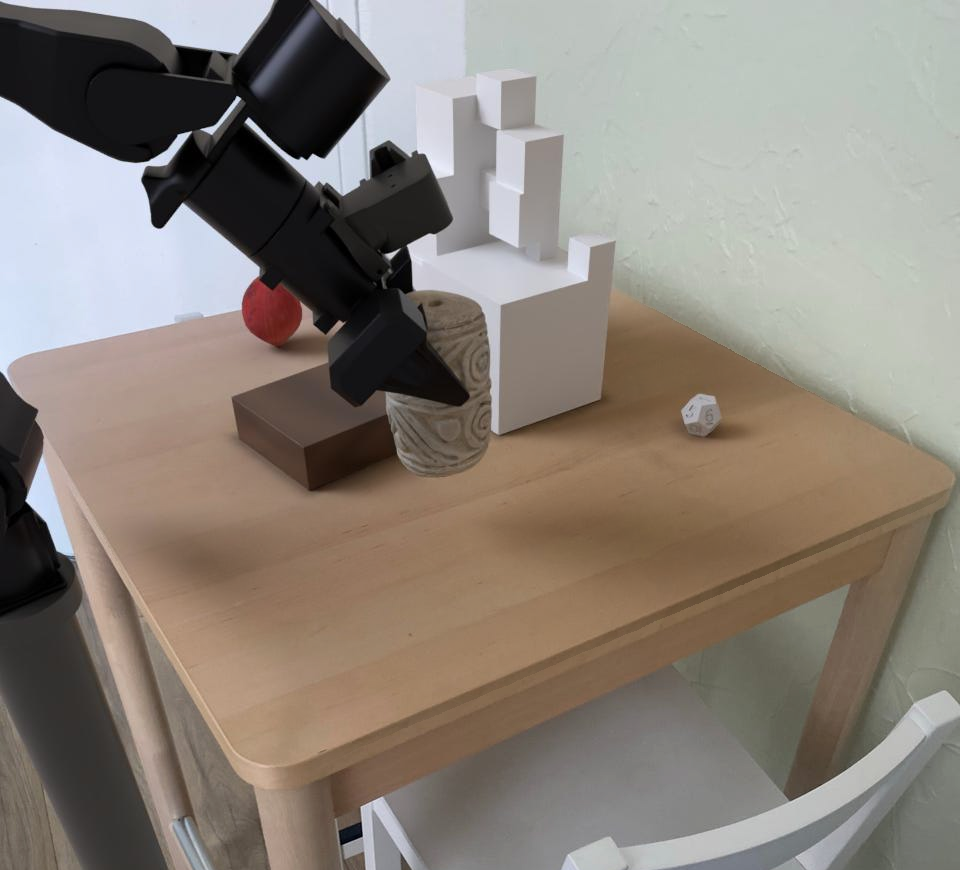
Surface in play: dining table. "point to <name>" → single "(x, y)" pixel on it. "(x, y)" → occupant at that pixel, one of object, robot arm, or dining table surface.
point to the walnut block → (313, 427)
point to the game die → (701, 415)
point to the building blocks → (513, 245)
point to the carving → (440, 427)
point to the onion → (271, 312)
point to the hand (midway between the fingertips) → (459, 379)
